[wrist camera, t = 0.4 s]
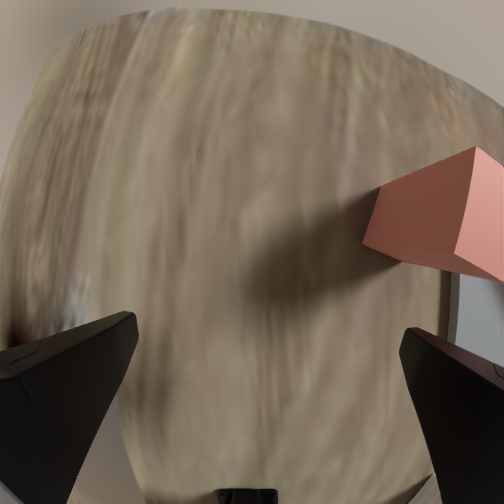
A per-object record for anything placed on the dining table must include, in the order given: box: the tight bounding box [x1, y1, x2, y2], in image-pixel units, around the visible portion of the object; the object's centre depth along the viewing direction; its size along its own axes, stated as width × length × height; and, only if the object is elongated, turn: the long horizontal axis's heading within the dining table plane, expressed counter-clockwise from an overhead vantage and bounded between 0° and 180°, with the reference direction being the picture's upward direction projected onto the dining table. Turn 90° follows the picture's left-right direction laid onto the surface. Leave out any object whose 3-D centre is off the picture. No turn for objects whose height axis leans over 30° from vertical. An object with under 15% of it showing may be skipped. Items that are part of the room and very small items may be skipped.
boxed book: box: [362, 146, 504, 283], centre depth 16 cm, size 5×4×12 cm
